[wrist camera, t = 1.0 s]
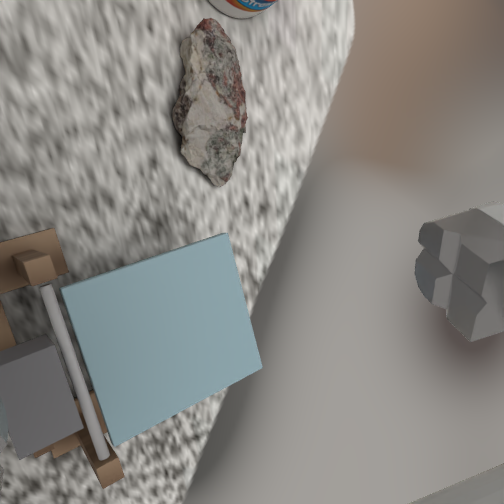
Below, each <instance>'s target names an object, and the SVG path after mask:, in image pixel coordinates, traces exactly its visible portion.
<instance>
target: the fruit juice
mask: <svg viewBox="0 0 504 504" xmlns="http://www.w3.org/2000/svg"><path fill="white" fill-rule="evenodd" d="M277 1H278V0H209V2H210V3H211V4H212V5H213V6H214V7H216V8H217V9H218V10H219V11H221V12H222V13H224V14H226V15H228V16H231V17H234V18H250V17H253V16H256V15H258V14H260V13H262V12H263V11H264V10H266V9H267V8H268V7H270V6H271V5H273V4H274V3H275V2H277Z"/></svg>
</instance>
